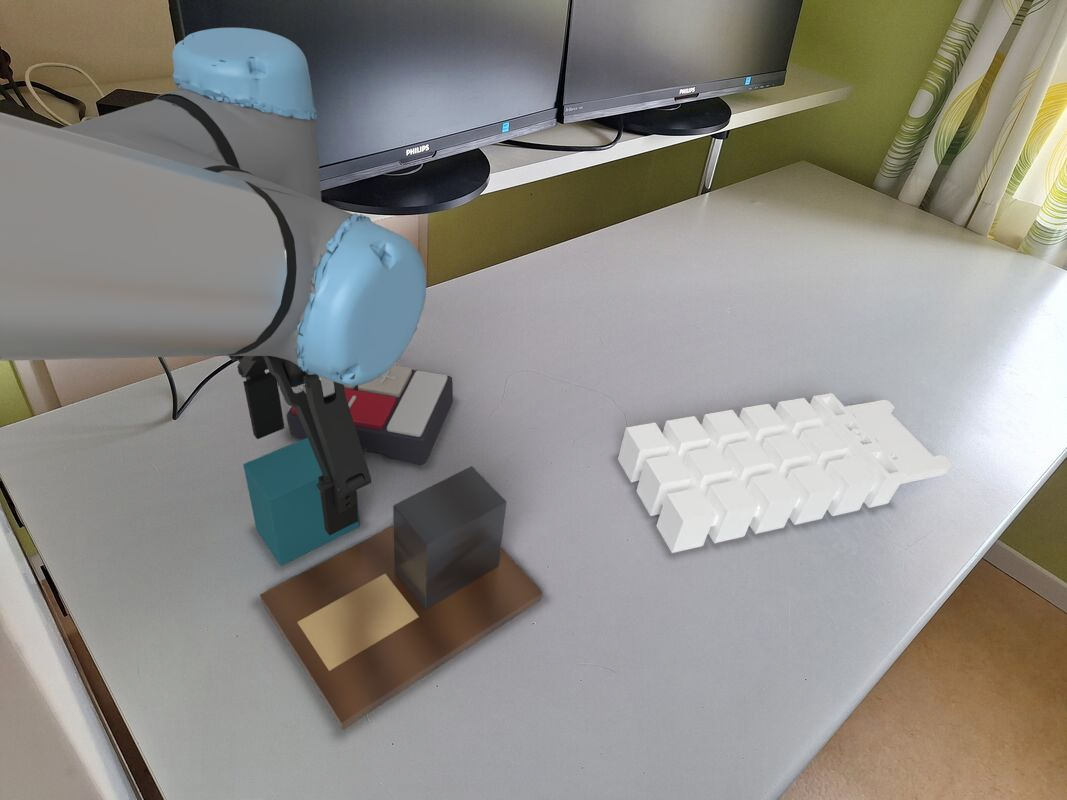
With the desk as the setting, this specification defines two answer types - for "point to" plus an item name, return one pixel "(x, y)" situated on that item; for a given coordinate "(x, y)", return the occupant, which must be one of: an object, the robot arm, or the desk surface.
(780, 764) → the desk surface
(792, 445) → the white ice cube tray
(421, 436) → the calculator
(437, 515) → the wooden stand
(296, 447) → the teal block
